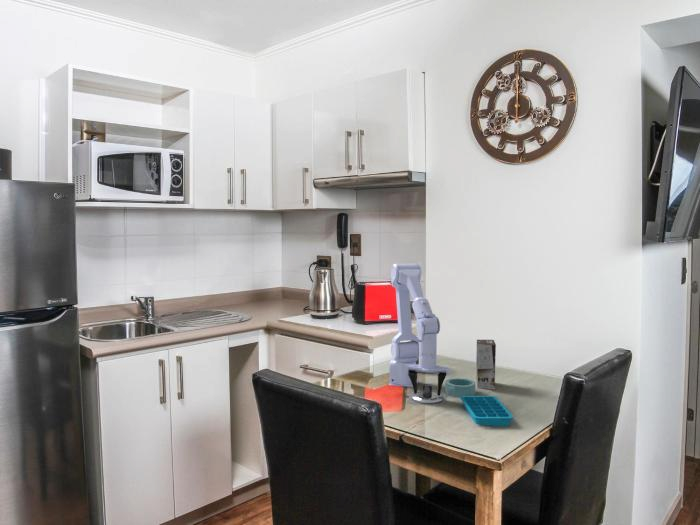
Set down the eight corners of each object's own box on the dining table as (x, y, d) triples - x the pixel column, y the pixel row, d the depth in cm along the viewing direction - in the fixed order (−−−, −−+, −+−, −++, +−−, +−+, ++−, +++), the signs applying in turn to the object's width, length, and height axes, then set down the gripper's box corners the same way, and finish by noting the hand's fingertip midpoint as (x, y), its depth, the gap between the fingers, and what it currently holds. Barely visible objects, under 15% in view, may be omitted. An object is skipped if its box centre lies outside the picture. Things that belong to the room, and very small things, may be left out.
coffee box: (495, 390, 190) (496, 344, 189) (476, 388, 191) (477, 343, 190) (493, 382, 199) (494, 339, 198) (475, 381, 200) (476, 338, 199)
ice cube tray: (474, 428, 155) (474, 418, 155) (459, 405, 175) (459, 395, 175) (514, 428, 155) (514, 417, 155) (495, 404, 175) (495, 395, 175)
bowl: (444, 396, 183) (444, 385, 182) (447, 388, 192) (447, 377, 192) (474, 399, 180) (474, 387, 180) (475, 390, 189) (476, 379, 189)
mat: (406, 404, 175) (406, 402, 175) (412, 393, 186) (412, 392, 186) (443, 407, 172) (443, 406, 172) (447, 396, 183) (447, 395, 183)
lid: (409, 402, 175) (409, 388, 175) (414, 392, 185) (414, 379, 185) (441, 405, 173) (441, 391, 172) (444, 395, 183) (444, 382, 182)
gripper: (403, 354, 176) (403, 395, 177) (448, 357, 172) (448, 399, 173) (407, 349, 183) (407, 389, 184) (450, 352, 179) (450, 392, 180)
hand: (427, 393), depth 179 cm, fingers open, 7 cm apart
